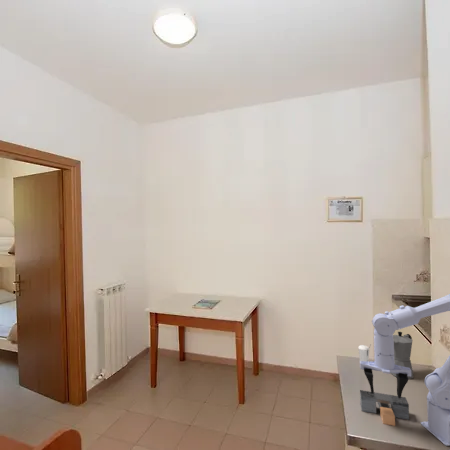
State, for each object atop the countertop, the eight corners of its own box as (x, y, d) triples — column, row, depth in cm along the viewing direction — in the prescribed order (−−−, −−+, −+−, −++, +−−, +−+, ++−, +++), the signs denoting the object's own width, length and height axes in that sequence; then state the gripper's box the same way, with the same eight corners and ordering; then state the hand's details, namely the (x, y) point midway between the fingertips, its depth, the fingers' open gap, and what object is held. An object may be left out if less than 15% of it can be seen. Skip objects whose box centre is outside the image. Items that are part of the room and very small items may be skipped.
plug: (375, 401, 100) (375, 393, 101) (386, 403, 99) (385, 395, 99) (383, 423, 89) (382, 414, 89) (395, 425, 88) (394, 416, 88)
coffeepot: (405, 383, 112) (403, 338, 112) (381, 373, 120) (380, 331, 120) (423, 372, 120) (422, 330, 120) (400, 364, 128) (399, 324, 128)
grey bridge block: (360, 404, 99) (359, 389, 99) (405, 412, 94) (405, 397, 94) (361, 411, 95) (361, 396, 96) (409, 419, 91) (408, 404, 91)
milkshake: (373, 368, 124) (372, 346, 124) (360, 367, 125) (359, 345, 125) (370, 364, 129) (369, 342, 129) (357, 363, 130) (356, 341, 130)
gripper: (360, 353, 90) (361, 396, 90) (413, 360, 85) (414, 405, 84) (358, 345, 97) (360, 385, 96) (407, 351, 91) (409, 393, 91)
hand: (385, 394), depth 91 cm, fingers open, 7 cm apart
